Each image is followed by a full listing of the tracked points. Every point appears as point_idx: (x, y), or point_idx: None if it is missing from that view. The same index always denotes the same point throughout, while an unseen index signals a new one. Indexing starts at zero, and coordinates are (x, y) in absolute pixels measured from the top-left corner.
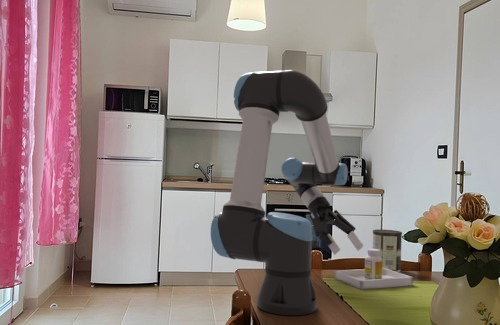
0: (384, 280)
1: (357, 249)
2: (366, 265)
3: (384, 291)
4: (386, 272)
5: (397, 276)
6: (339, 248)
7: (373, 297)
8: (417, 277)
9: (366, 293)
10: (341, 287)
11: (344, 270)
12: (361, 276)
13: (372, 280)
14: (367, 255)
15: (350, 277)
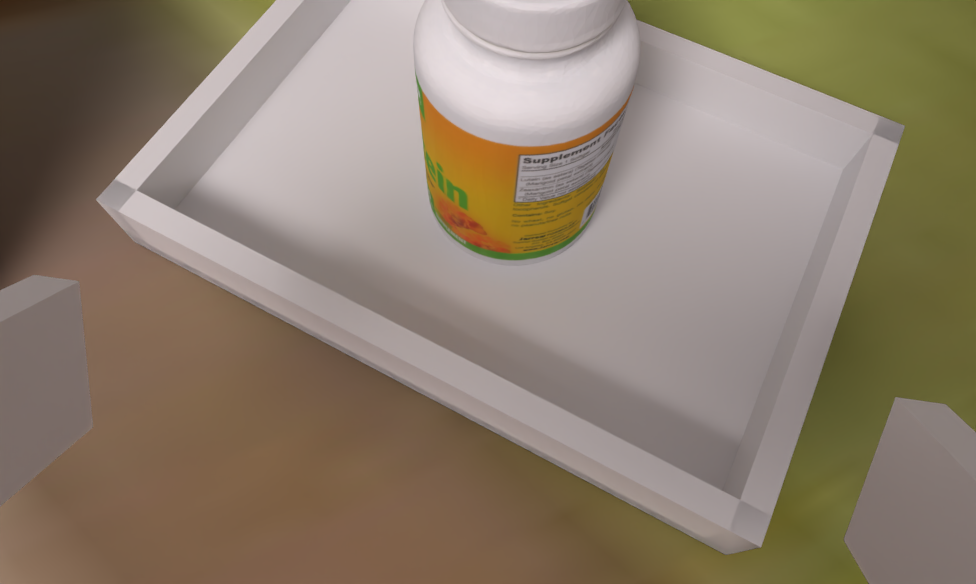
0: (644, 31)
1: (79, 424)
2: (613, 143)
3: (739, 41)
4: (186, 167)
5: (285, 54)
6: (917, 414)
7: (965, 37)
8: (27, 14)
9: (922, 104)
10: (968, 317)
11: (623, 464)
12: (459, 333)
13: (777, 77)
14: (548, 85)
15: (855, 264)
